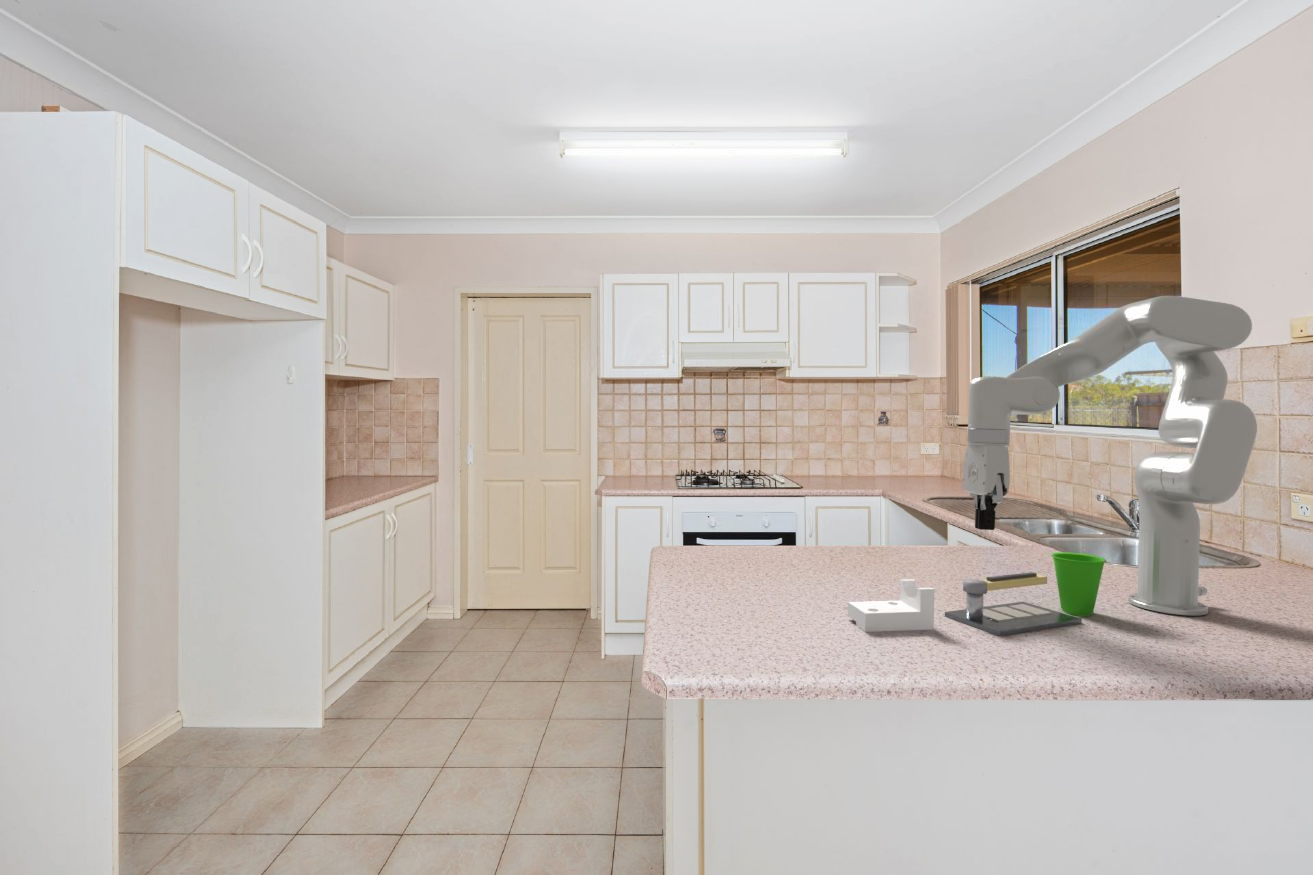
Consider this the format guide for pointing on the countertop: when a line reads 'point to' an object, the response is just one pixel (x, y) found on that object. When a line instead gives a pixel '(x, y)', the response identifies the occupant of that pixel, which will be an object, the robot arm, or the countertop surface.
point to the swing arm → (1003, 582)
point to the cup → (1078, 581)
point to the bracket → (896, 610)
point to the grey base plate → (1009, 616)
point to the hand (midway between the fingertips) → (984, 529)
